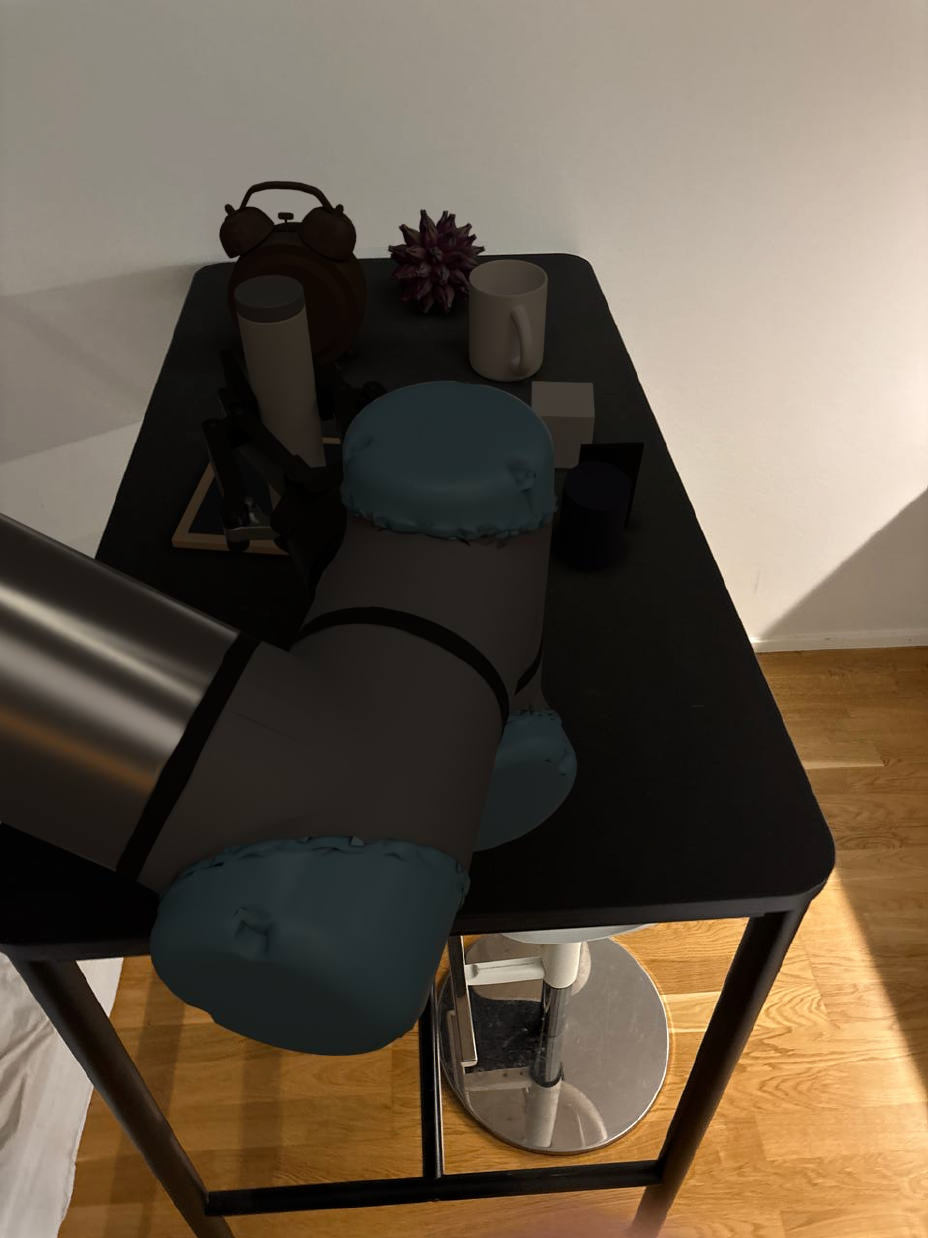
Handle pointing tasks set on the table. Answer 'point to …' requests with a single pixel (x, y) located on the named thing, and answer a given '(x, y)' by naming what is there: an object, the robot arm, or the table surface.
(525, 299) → the mug
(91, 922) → the table surface
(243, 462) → the picture frame
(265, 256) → the alarm clock
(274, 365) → the grey-capped cream cylinder
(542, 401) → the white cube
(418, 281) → the flower
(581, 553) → the speaker
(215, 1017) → the robot arm
